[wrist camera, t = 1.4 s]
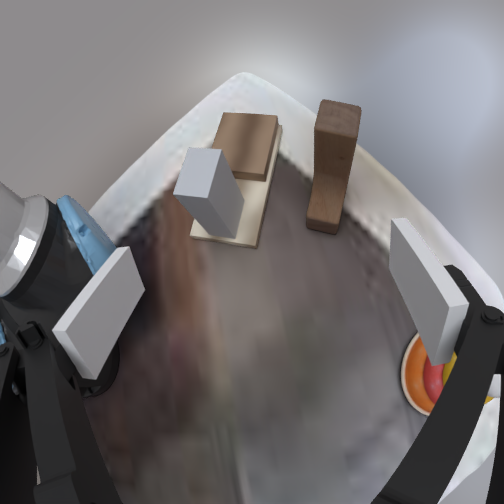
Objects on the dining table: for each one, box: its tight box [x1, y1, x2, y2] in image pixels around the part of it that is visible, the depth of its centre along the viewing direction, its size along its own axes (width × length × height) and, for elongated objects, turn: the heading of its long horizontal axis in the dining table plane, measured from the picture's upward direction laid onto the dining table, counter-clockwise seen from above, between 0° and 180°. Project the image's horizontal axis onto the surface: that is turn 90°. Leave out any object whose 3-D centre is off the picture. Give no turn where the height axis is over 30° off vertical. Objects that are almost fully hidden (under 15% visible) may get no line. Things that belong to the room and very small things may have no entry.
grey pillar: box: [173, 147, 245, 239], centre depth 41 cm, size 4×6×14 cm, turn 168°
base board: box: [190, 112, 282, 249], centre depth 48 cm, size 10×21×4 cm, turn 168°
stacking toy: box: [401, 333, 501, 416], centre depth 28 cm, size 14×14×20 cm
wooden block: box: [306, 100, 361, 234], centre depth 38 cm, size 9×4×18 cm, turn 163°
